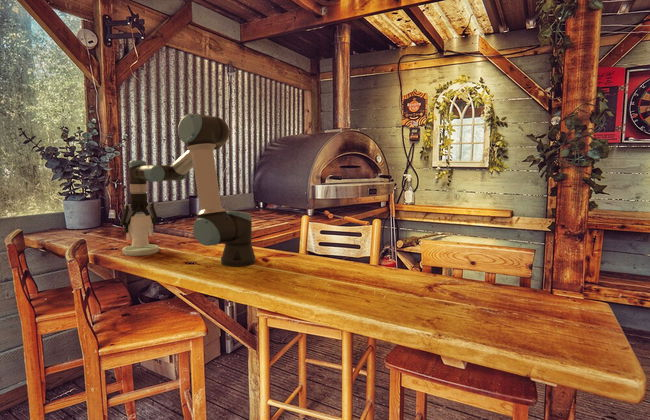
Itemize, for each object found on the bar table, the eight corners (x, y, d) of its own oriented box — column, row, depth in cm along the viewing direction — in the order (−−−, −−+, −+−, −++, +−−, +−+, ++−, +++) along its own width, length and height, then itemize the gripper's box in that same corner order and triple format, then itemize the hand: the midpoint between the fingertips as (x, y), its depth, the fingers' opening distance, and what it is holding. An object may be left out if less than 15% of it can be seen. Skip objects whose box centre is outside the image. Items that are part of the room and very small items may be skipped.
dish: (165, 251, 194) (164, 247, 193) (132, 257, 181) (132, 252, 181) (148, 246, 203) (147, 242, 203) (116, 252, 191) (116, 247, 190)
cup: (156, 243, 197) (155, 214, 195) (144, 248, 186) (143, 217, 184) (136, 243, 198) (135, 213, 196) (123, 247, 187) (122, 216, 185)
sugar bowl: (134, 241, 216) (133, 223, 215) (159, 242, 215) (158, 224, 214) (121, 246, 204) (120, 227, 202) (148, 247, 203) (147, 227, 202)
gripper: (157, 191, 200) (158, 233, 203) (110, 193, 182) (112, 240, 184) (165, 192, 196) (166, 235, 198) (117, 194, 177) (119, 242, 180)
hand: (140, 237), depth 191 cm, fingers closed on cup, 11 cm apart
